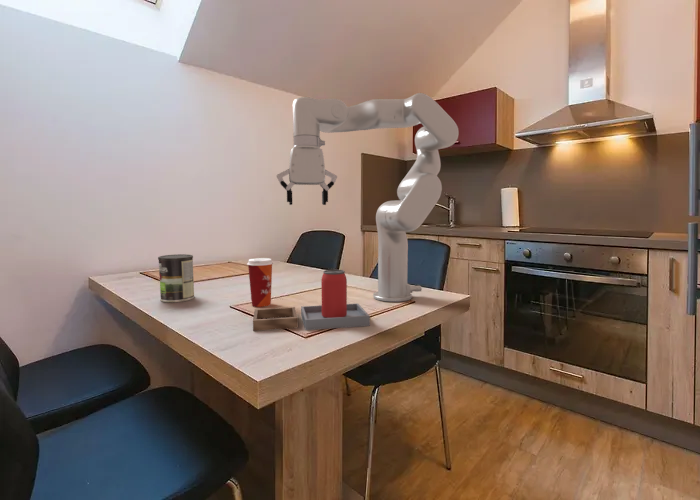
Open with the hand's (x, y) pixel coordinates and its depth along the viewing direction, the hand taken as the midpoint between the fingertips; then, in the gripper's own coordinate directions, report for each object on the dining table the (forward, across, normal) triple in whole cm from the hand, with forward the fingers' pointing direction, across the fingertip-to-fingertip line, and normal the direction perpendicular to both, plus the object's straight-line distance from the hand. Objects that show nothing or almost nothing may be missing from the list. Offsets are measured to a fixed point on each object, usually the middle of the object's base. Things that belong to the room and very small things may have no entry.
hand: (307, 204), depth 109 cm
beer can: (+30, -5, +15) cm, 33 cm away
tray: (+30, -5, +15) cm, 34 cm away
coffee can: (+31, +41, -20) cm, 55 cm away
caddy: (+30, +10, +14) cm, 35 cm away
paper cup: (+31, +14, -6) cm, 34 cm away
